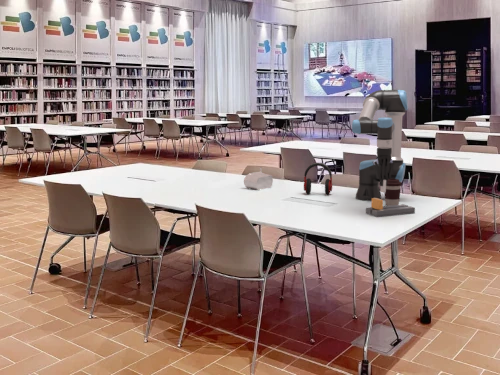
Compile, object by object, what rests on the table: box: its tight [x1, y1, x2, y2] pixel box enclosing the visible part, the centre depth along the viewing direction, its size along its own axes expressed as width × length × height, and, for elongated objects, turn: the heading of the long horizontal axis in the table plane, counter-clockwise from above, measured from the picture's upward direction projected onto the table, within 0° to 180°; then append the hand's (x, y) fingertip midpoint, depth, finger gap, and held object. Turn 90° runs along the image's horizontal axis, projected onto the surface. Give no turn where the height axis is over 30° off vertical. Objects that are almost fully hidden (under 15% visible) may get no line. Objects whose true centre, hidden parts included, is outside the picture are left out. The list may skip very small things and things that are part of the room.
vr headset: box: [243, 166, 274, 191], centre depth 405 cm, size 18×11×14 cm, turn 138°
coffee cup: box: [384, 179, 403, 206], centre depth 342 cm, size 10×10×15 cm
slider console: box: [365, 203, 416, 218], centre depth 323 cm, size 10×24×3 cm, turn 112°
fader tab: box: [371, 198, 384, 210], centre depth 319 cm, size 6×3×7 cm, turn 22°
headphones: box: [303, 162, 333, 196], centre depth 379 cm, size 18×10×20 cm, turn 79°
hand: (383, 191), depth 320 cm, fingers closed
